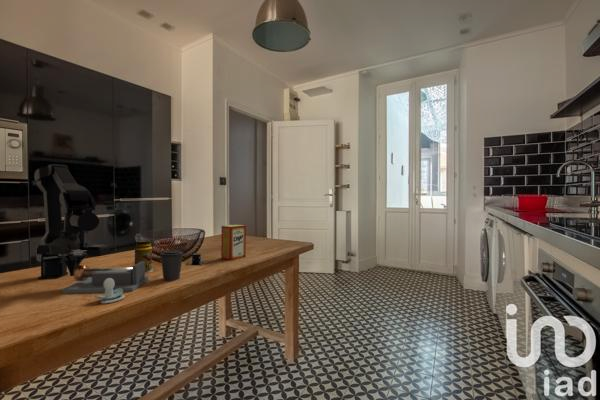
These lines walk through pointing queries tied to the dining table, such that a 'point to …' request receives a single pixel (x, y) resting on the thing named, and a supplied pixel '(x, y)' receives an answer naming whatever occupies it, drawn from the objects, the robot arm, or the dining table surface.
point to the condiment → (144, 254)
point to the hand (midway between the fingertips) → (72, 275)
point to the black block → (196, 259)
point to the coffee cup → (171, 264)
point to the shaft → (95, 271)
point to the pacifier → (111, 292)
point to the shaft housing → (121, 279)
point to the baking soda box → (233, 242)
